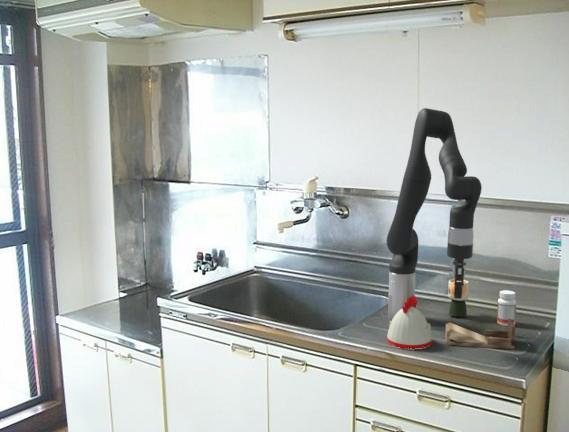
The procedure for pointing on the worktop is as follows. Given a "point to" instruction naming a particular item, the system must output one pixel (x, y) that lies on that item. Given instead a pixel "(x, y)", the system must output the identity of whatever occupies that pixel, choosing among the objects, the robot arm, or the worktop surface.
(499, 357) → the worktop surface
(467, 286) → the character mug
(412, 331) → the white dome
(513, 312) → the pill bottle
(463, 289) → the ball
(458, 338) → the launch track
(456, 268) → the robot arm
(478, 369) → the worktop surface
